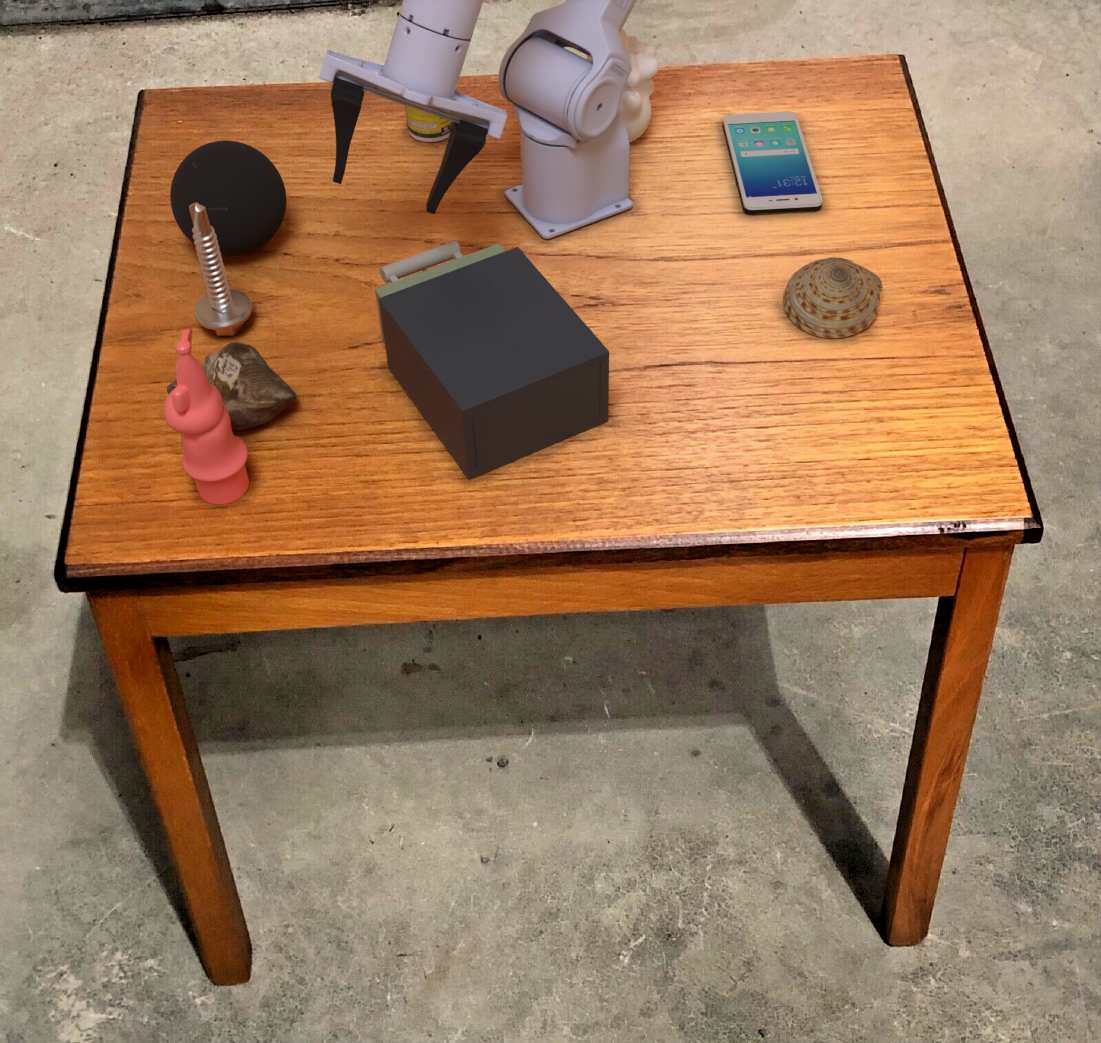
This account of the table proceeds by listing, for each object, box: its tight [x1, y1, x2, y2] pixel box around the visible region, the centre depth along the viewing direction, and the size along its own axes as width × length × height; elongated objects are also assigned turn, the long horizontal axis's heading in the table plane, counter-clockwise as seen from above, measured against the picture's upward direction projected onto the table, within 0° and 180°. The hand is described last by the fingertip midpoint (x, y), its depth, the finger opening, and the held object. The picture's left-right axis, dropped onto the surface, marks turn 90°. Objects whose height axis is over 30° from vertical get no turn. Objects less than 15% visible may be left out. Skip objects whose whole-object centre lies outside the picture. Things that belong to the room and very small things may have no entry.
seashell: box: [782, 256, 883, 339], centre depth 122 cm, size 8×6×8 cm
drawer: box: [374, 240, 506, 346], centre depth 117 cm, size 18×11×6 cm, turn 29°
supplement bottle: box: [404, 105, 453, 143], centre depth 138 cm, size 5×5×8 cm
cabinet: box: [379, 246, 610, 481], centre depth 114 cm, size 15×13×8 cm
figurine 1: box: [163, 328, 250, 505], centre depth 105 cm, size 5×5×15 cm
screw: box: [189, 202, 253, 337], centre depth 118 cm, size 13×5×5 cm
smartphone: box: [721, 110, 823, 215], centre depth 136 cm, size 8×1×15 cm
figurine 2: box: [586, 28, 660, 143], centre depth 135 cm, size 7×7×12 cm
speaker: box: [169, 140, 287, 258], centre depth 126 cm, size 10×10×10 cm
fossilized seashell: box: [166, 341, 298, 431], centre depth 115 cm, size 8×7×10 cm
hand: (384, 195), depth 114 cm, fingers open, 7 cm apart
